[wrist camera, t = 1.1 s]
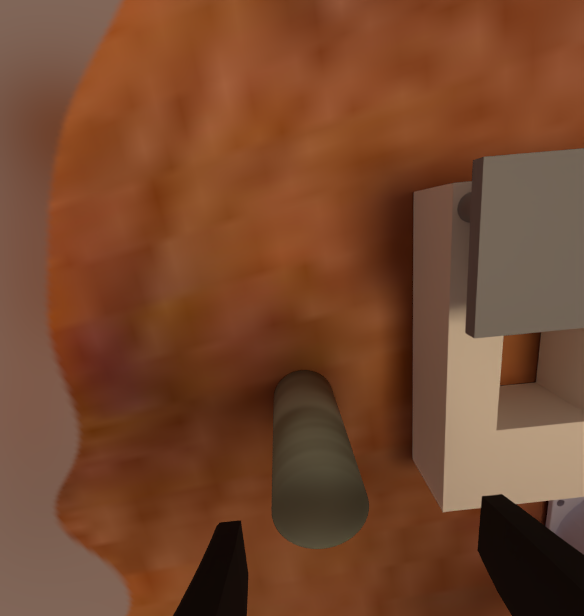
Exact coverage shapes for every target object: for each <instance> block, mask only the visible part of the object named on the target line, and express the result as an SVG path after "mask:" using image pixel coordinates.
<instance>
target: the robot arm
mask: <svg viewBox="0 0 584 616" xmlns="http://www.w3.org/2000/svg"><path fill="white" fill-rule="evenodd" d="M478 552H479V554H480V556H481V558H482V561H483V563H484V565H485V567H486V569H487V571H488V573H489V575H490V577H491V579H492V581H493V583H494V585H495V587H496V589H497V591H498V593H499V595H500V596H501V598H502V600H503V601H504V603H505V605H506V606H507V608H508V610H509V611H510V613H511V615H512V616H584V497H577V498H568V499H559V500H549V503H548V510H547V518H546V526H544V525H543V524H542V523H540V522H539V521H538V520H536V519H535V518H534V517H532V516H531V515H530V514H528V513H527V512H526V511H524V510H523V509H522V508H520V507H519V506H518V505H516V504H515V503H513V502H512V501H511V500H509V499H508V498H507V497H505V496H504V495H502V494H499V495H489V496H482V501H481V514H480V527H479V540H478ZM247 596H248V569H247V562H246V554H245V547H244V540H243V533H242V526H241V521H231V522H221V523H219V524H218V525H217V527H216V529H215V531H214V534H213V536H212V539H211V541H210V543H209V545H208V548H207V550H206V552H205V554H204V556H203V559H202V561H201V563H200V565H199V567H198V569H197V571H196V573H195V575H194V577H193V579H192V581H191V583H190V585H189V587H188V589H187V591H186V592H185V594H184V596H183V598H182V600H181V602H180V604H179V606H178V608H177V610H176V611H175V613H174V615H173V616H247Z"/></svg>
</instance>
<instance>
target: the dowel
mask: <svg viewBox="0 0 584 616" xmlns="http://www.w3.org/2000/svg"><path fill="white" fill-rule="evenodd" d="M368 511H369V501H368V497H367V493H366V490H365V487H364V484H363V481H362V478H361V475H360V472H359V469H358V466H357V463H356V460H355V457H354V454H353V451H352V448H351V445H350V442H349V439H348V436H347V433H346V430H345V427H344V424H343V421H342V418H341V415H340V412H339V409H338V406H337V403H336V400H335V397H334V394H333V391H332V388H331V386H330V384H329V382H328V381H327V380H326V379H325V378H324V377H323V376H322V375H320V374H318V373H316V372H313V371H308V370H300V371H295V372H292V373H290V374H288V375H287V376H285V377H284V378H283V379H282V380H281V381H280V382H279V383H278V385H277V387H276V389H275V392H274V411H273V465H272V518H273V522H274V524H275V526H276V528H277V530H278V531H279V533H280V534H281V535H282V536H283V537H284V538H286V539H287V540H288V541H290V542H292V543H293V544H296V545H298V546H301V547H305V548H311V549H324V548H330V547H333V546H337V545H339V544H342V543H344V542H346V541H347V540H349V539H350V538H352V537H353V536H354V535H355V534H356V533H357V532H358V531H359V530H360V529H361V528H362V526H363V525H364V523H365V521H366V518H367V516H368Z"/></svg>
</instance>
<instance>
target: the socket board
mask: <svg viewBox="0 0 584 616" xmlns="http://www.w3.org/2000/svg"><path fill="white" fill-rule="evenodd" d="M536 332H541V339H540V348H539V358H538V367H537V377H536V382H534V383H524V384H514V385H504V386H500V375H501V361H502V348H503V336H505V335H516V334H526V333H536ZM412 459H413V461H414V463H415V465H416V466H417V468H418V470H419V471H420V473H421V475H422V477H423V478H424V480H425V482H426V484H427V485H428V487H429V489H430V491H431V492H432V494H433V496H434V498H435V499H436V501H437V503H438V505H439V506H440V508H441V510H442V512H447V511H457V510H466V509H475V508H481V501H482V496H489V495H499V494H502V495H504V496H505V497H507V498H508V499H509V500H511V501H512V502H513V503H515V504H522V503H531V502H540V501H549V500H559V499H568V498H577V497H584V148H582V149H571V150H559V151H547V152H535V153H524V154H512V155H500V156H488V157H482V158H479V159H476V160H473V170H472V181H469V182H458V183H451V184H446V185H442V186H437V187H433V188H429V189H424V190H420V191H415V192H414V203H413V430H412Z"/></svg>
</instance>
